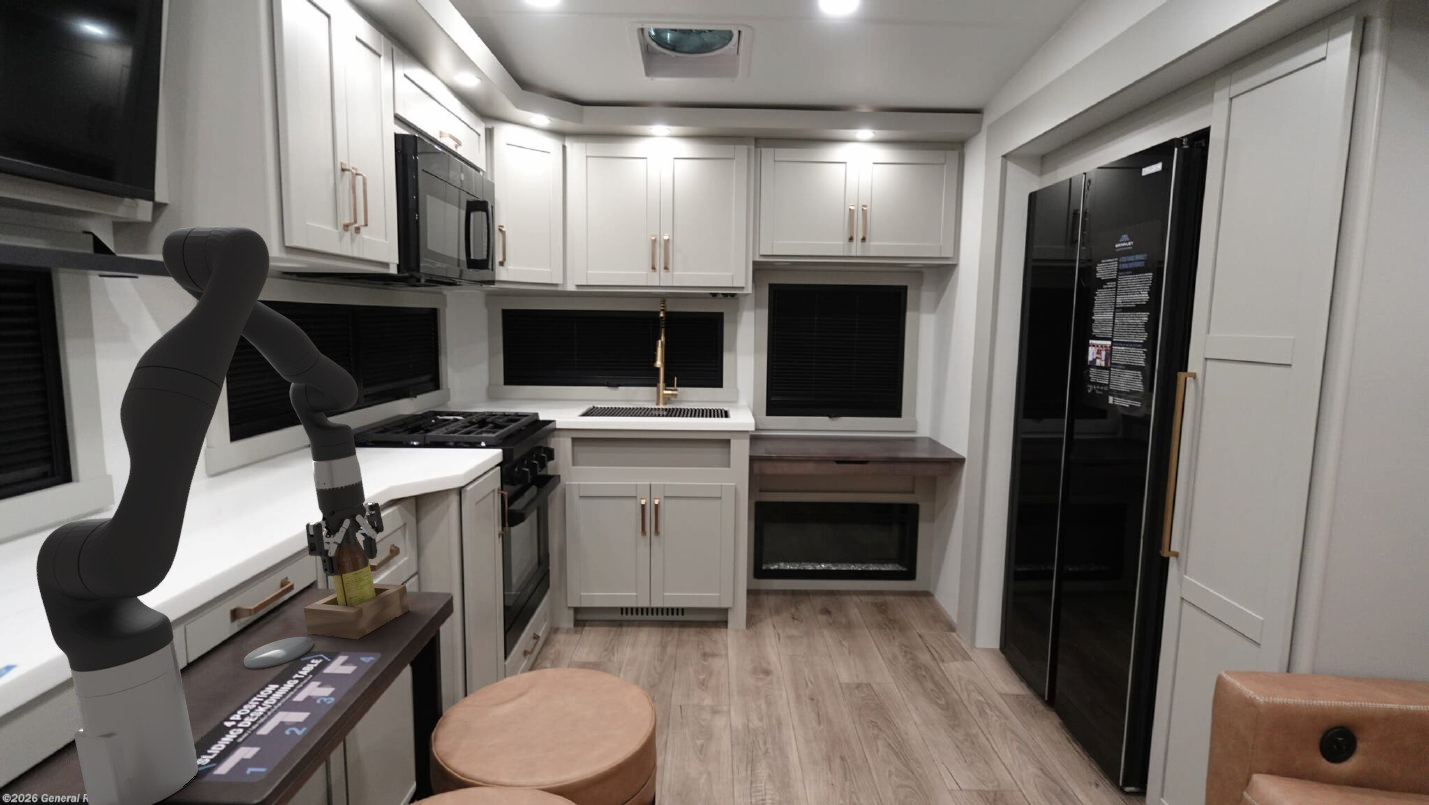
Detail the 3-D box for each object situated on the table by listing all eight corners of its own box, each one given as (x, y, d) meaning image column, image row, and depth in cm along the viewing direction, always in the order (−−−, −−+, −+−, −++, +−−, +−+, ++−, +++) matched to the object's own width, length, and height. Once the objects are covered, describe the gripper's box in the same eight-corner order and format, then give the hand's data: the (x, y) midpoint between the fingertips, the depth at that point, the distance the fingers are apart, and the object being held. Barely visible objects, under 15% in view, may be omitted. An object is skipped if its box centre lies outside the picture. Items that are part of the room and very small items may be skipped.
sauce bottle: (386, 614, 128) (371, 513, 126) (366, 628, 122) (350, 523, 120) (354, 615, 129) (338, 515, 127) (332, 630, 123) (316, 525, 120)
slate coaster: (272, 671, 108) (271, 668, 108) (229, 665, 112) (229, 662, 112) (326, 642, 118) (326, 639, 117) (285, 638, 121) (285, 634, 121)
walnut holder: (357, 639, 118) (353, 612, 117) (307, 634, 122) (303, 608, 121) (409, 610, 129) (405, 585, 128) (362, 606, 133) (358, 582, 132)
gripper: (319, 492, 114) (334, 582, 116) (385, 472, 128) (397, 553, 130) (287, 492, 117) (303, 580, 119) (355, 472, 130) (368, 552, 132)
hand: (352, 566), depth 124 cm, fingers open, 8 cm apart
